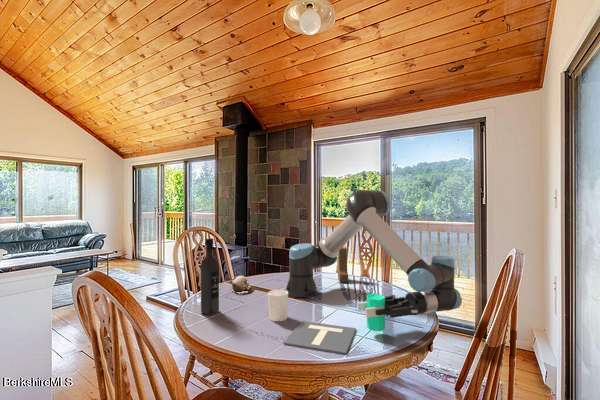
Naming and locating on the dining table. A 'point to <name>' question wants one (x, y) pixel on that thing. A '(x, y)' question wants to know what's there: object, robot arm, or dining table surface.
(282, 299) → the white cup
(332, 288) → the dining table surface
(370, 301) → the candle
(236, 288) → the skull
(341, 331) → the letter pad
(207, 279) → the black olive oil bottle
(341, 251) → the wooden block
